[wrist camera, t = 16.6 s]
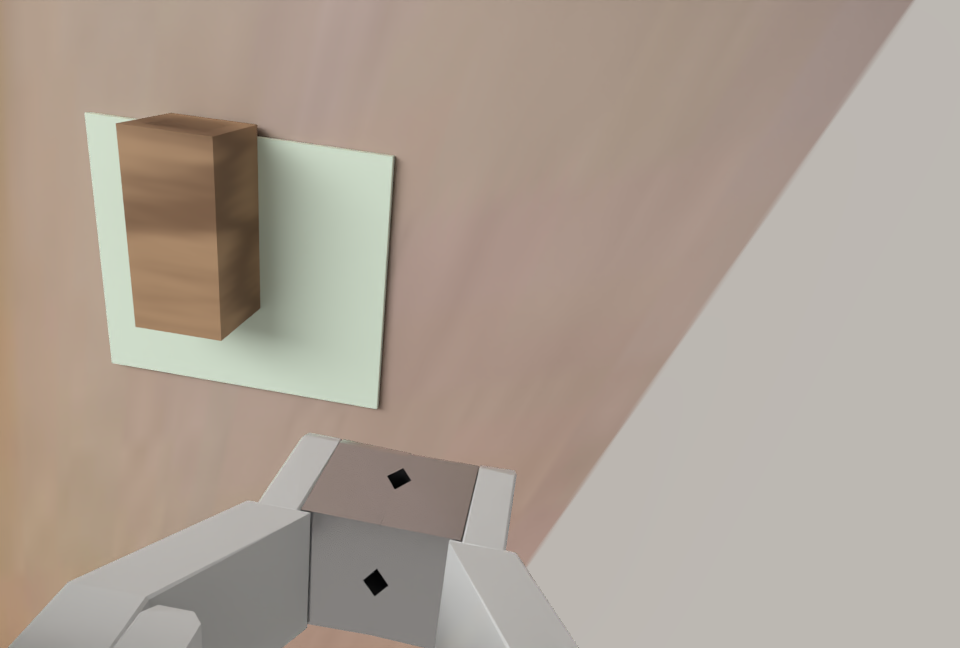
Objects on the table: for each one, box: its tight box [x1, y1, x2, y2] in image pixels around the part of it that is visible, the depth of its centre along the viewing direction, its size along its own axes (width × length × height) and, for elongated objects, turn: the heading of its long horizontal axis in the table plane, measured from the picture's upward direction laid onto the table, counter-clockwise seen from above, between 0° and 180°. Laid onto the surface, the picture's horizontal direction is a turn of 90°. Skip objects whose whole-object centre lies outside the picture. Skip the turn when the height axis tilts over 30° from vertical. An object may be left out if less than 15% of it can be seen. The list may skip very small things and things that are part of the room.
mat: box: [85, 112, 395, 409], centre depth 42 cm, size 16×18×1 cm
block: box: [116, 113, 260, 341], centre depth 38 cm, size 5×5×11 cm
